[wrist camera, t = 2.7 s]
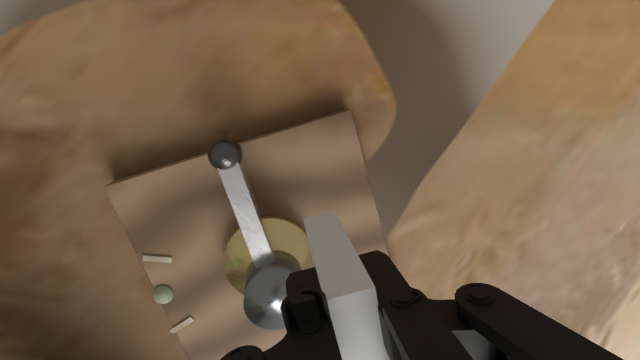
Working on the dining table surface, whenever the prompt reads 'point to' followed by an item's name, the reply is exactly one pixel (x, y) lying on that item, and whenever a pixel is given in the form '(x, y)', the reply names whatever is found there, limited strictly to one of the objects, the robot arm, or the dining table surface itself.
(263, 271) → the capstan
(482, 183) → the dining table surface
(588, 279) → the dining table surface
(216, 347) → the board
